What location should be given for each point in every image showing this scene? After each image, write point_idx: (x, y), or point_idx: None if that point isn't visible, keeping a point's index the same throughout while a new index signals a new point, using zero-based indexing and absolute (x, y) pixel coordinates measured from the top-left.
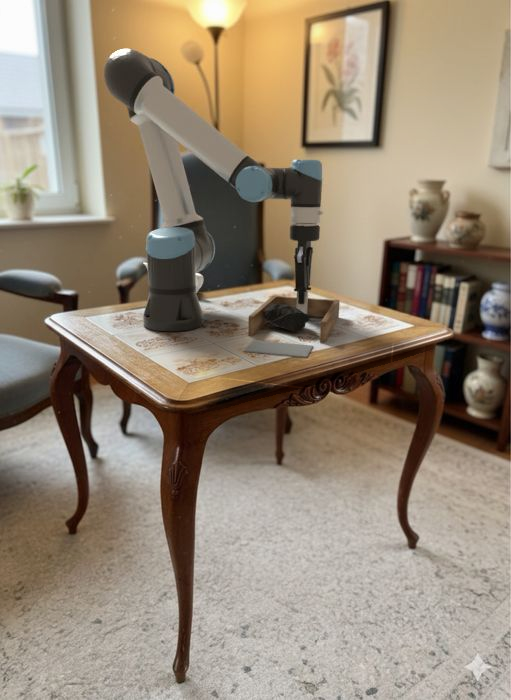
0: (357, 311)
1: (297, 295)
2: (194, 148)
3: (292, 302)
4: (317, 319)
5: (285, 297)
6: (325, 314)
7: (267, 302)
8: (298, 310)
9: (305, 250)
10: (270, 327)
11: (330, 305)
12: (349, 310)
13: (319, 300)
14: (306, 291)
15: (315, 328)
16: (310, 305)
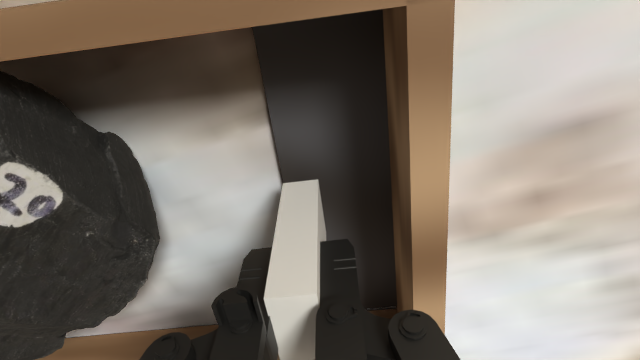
0: (577, 355)
1: (268, 275)
2: None
3: (403, 148)
4: None
5: (409, 104)
6: (397, 292)
7: (113, 23)
8: (4, 328)
9: None
10: (54, 87)
11: None
12: (593, 328)
13: None
14: (293, 355)
15: (191, 284)
16: (403, 256)
